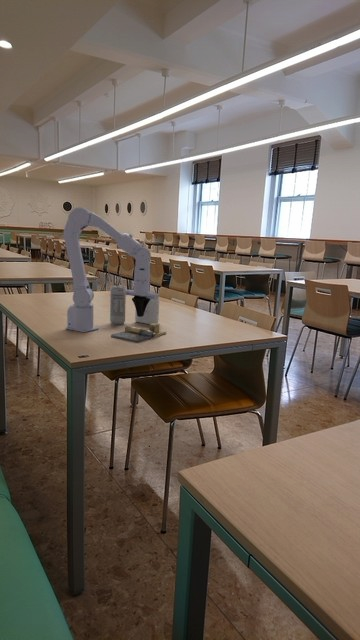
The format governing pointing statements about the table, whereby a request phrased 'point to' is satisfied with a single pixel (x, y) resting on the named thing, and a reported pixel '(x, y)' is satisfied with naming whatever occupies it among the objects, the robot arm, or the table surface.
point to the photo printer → (149, 313)
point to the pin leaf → (135, 336)
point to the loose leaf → (152, 327)
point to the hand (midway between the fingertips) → (140, 316)
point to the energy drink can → (117, 305)
